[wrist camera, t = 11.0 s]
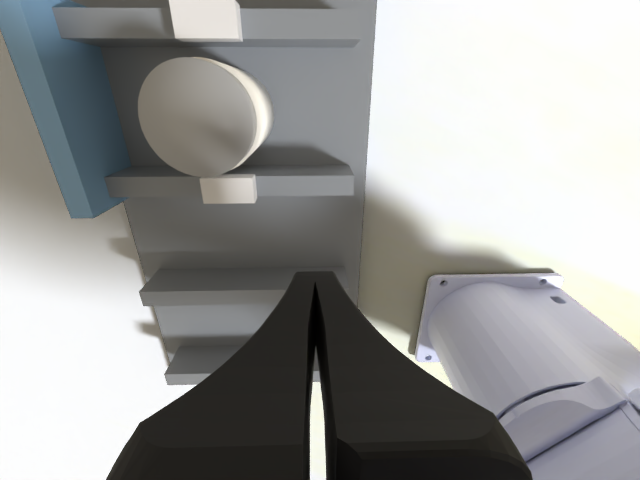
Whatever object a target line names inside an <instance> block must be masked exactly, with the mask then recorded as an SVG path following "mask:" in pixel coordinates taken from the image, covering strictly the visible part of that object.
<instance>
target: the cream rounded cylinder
mask: <svg viewBox="0 0 640 480" xmlns="http://www.w3.org/2000/svg"><path fill="white" fill-rule="evenodd" d="M138 116H139V121H140V125H141V128H142V131H143V133H144V136H145V138H146V140H147V141H148V143H149V145H150V146H151V148H152V149H153V150H154V152H155V153H156V154H157V155H158V156H159V157H160V158H161V159H162V160H163V161H164V162H166V163H167V164H168V165H170V166H171V167H173V168H174V169H176V170H178V171H180V172H183V173H185V174H188V175H192V176H197V177H212V176H217V175H220V174H223V173H226V172H227V171H229V170H232V169H234V168H236V167H238V166H239V165H241V164H242V163H243V162H244V161H245V160H246V159H247V158H248V157H249V156H250V155H251V154H252V153H253V152H254V151H255V150H256V149H257V148H258V147H259V146H260V145H261V144H262V143H263V142H264V141H265V140H266V139H267V137H268V136H269V134H270V132H271V129H272V127H273V122H274V108H273V103H272V100H271V97H270V95H269V93H268V91H267V89H266V88H265V86H264V85H263V84H262V83H261V82H260V81H259V80H258V79H257V78H256V77H255V76H253V75H252V74H250V73H248V72H246V71H243V70H241V69H238V68H235V67H232V66H229V65H226V64H223V63H220V62H218V61H215V60H212V59H208V58H203V57H181V58H174V59H170V60H168V61H165V62H163V63H161V64H160V65H158V66H157V67H155V68H154V69H153V70H152V71H151V72H150V73H149V75H148V76H147V77H146V79H145V81H144V83H143V84H142V87H141V90H140V93H139V98H138Z"/></svg>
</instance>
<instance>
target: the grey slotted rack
mask: <svg viewBox="0 0 640 480" xmlns="http://www.w3.org/2000/svg"><path fill="white" fill-rule="evenodd" d="M376 8H377V0H0V29H1V32H2V35H3V37H4V40H5V43H6V45H7V48H8V51H9V53H10V56H11V59H12V61H13V64H14V67H15V69H16V72H17V75H18V77H19V80H20V83H21V85H22V88H23V91H24V93H25V96H26V99H27V101H28V104H29V107H30V109H31V112H32V115H33V117H34V120H35V123H36V126H37V128H38V131H39V134H40V136H41V139H42V142H43V144H44V147H45V150H46V152H47V155H48V158H49V160H50V163H51V166H52V168H53V171H54V174H55V176H56V179H57V182H58V184H59V187H60V190H61V192H62V195H63V198H64V200H65V203H66V206H67V208H68V211H69V214H70V216H71V218H95V217H96V216H98V215H100V214H102V213H103V212H105V211H107V210H109V209H110V208H112V207H114V206H116V205H117V204H119V203H121V202H124V206H125V209H126V213H127V216H128V220H129V223H130V226H131V230H132V233H133V237H134V240H135V244H136V247H137V251H138V254H139V258H140V261H141V264H142V268H143V271H144V275H145V278H146V282H147V283H146V284H145V286H144V287H143V288H142V289H141V290H140V291H139V293H140V297H141V300H142V303H143V306H154V309H155V313H156V316H157V320H158V323H159V327H160V330H161V334H162V337H163V340H164V344H165V347H166V351H167V354H168V358H169V361H170V365H169V367H168V369H167V370H166V372H165V374H164V375H165V378H166V381H167V385H193V384H199V383H200V382H202V381H203V380H204V379H205V378H207V377H208V376H209V375H210V374H212V373H213V372H214V371H216V370H217V369H218V368H219V367H220V366H222V365H223V364H224V363H225V362H226V361H227V360H228V359H229V358H231V357H232V356H233V355H234V354H235V353H236V352H237V351H238V350H239V349H240V348H241V347H242V346H243V345H244V344H245V343H246V342H247V341H248V340H249V339H250V338H251V337H252V336H253V335H254V333H255V332H256V331H257V330H258V329H259V328H260V327H261V325H262V324H263V323H264V322H265V320H266V319H267V318H268V316H269V315H270V314H271V312H272V311H273V310H274V309H275V307H276V306H277V304H278V303H279V301H280V300H281V298H282V297H283V295H284V293H285V292H286V290H287V288H288V287H289V285H290V283H291V281H292V279H293V276H294V274H295V273H296V272H304V271H333V272H334V273H335V274H336V276H337V278H338V280H339V282H340V283H341V285H342V287H343V288H344V290H345V291H346V293H347V294H348V296H349V297H350V299H351V300H352V301H353V303H354V304H355V305H356V307H357V304H358V288H359V273H360V257H361V242H362V226H363V210H364V195H365V179H366V164H367V148H368V133H369V117H370V101H371V86H372V70H373V55H374V39H375V24H376ZM181 57H203V58H208V59H212V60H215V61H218V62H220V63H223V64H226V65H229V66H232V67H235V68H238V69H241V70H243V71H246V72H248V73H250V74H252V75H253V76H255V77H256V78H257V79H258V80H259V81H260V82H261V83H262V84H263V85H264V86H265V88H266V89H267V91H268V93H269V95H270V97H271V100H272V103H273V108H274V122H273V127H272V129H271V132H270V134H269V136H268V137H267V139H266V140H265V141H264V142H263V143H262V144H261V145H260V146H259V147H258V148H257V149H256V150H255V151H254V152H253V153H252V154H251V155H250V156H249V157H248V158H247V159H246V160H245V161H244V162H243V163H242V164H241V165H239V166H238V167H236V168H234V169H232V170H229V171H227V172H226V173H223V174H220V175H217V176H212V177H197V176H192V175H188V174H185V173H183V172H180V171H178V170H176V169H174V168H173V167H171V166H170V165H168V164H167V163H166V162H164V161H163V160H162V159H161V158H160V157H159V156H158V155H157V154H156V153H155V152H154V150H153V149H152V148H151V146H150V145H149V143H148V141H147V140H146V138H145V136H144V133H143V131H142V128H141V125H140V121H139V116H138V98H139V93H140V90H141V87H142V84H143V83H144V81H145V79H146V77H147V76H148V75H149V73H150V72H151V71H152V70H153V69H154V68H155V67H157V66H158V65H160V64H161V63H163V62H165V61H168V60H170V59H174V58H181ZM313 382H320V375H319V367H318V359H317V351H316V348H315V359H314V371H313Z"/></svg>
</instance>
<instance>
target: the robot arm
mask: <svg viewBox="0 0 640 480" xmlns="http://www.w3.org/2000/svg"><path fill="white" fill-rule="evenodd" d="M444 280H445V282H444V283H442V284H440V283H441V281H444ZM540 280H542V281H540ZM563 281H564V278H563V277H562V276H561V275H560V274H558V273H528V274H460V275H433V276H431V277H430V278H429V279H428V283H427V288H426V294H425V300H424V305H423V311H422V316H421V322H420V328H419V333H418V339H417V344H416V350H415V358H416V360H417V361H418V362H441V364H442V366H443V368H444V371H445V373H446V375H447V377H448V379H449V381H450V383H451V385H452V387H453V389H454V390H453V389H451V388H450V387H448V386H446V385H445V384H443V383H442V382H441V381H439V380H438V379H436V378H435V377H433V376H432V375H430V374H429V373H427V372H426V371H424V370H423V369H422V368H420V367H419V366H418V365H416V364H415V363H414V362H412V361H411V360H410V359H409V358H407V357H406V356H405V355H403V354H402V353H401V352H400V351H398V350H397V349H396V348H395V347H394V346H393V345H392V344H391V343H389V342H388V341H387V340H386V339H385V338H384V337H383V336H382V335H381V334H380V333H379V332H378V331H377V330H376V329H375V328H374V327H373V326H372V324H371V323H370V322H369V321H368V320H367V319H366V318H365V316H364V315H363V314H362V313H361V312H360V310H359V309H358V308H357V307H356V305H355V304H354V303H353V301H352V300H351V299H350V297H349V296H348V294H347V293H346V291H345V290H344V288H343V287H342V285H341V283H340V282H339V280H338V278H337V276H336V274H335V273H334V272H333V271H304V272H296V273H295V274H294V276H293V279H292V281H291V283H290V285H289V287H288V288H287V290H286V292H285V293H284V295H283V297H282V298H281V300H280V301H279V303H278V304H277V306H276V307H275V309H274V310H273V311H272V312H271V314H270V315H269V316H268V318H267V319H266V320H265V322H264V323H263V324H262V325H261V327H260V328H259V329H258V330H257V331H256V332H255V333H254V335H253V336H252V337H251V338H250V339H249V340H248V341H247V342H246V343H245V344H244V345H243V346H242V347H241V348H240V349H239V350H238V351H237V352H236V353H235V354H234V355H233V356H232V357H231V358H229V359H228V360H227V361H226V362H225V363H224V364H223V365H222V366H220V367H219V368H218V369H217V370H216V371H214V372H213V373H212V374H210V375H209V376H208V377H207V378H205V379H204V380H203V381H202V382H200V383H199V384H198V385H196V386H195V387H194V388H192V389H191V390H190V391H188V392H187V393H185V394H184V395H182V396H181V397H179V398H178V399H176V400H175V401H173V402H172V403H170V404H169V405H167V406H166V407H164V408H163V409H161V410H159V411H158V412H156V413H155V414H153V415H152V416H150V417H149V418H147V419H145V420H144V421H142V422H140V423H139V425H138V427H137V428H136V430H135V432H134V433H133V435H132V436H131V438H130V439H129V441H128V442H127V443H126V445H125V446H124V448H123V450H122V452H121V453H120V455H119V457H118V458H117V460H116V462H115V464H114V466H113V467H112V469H111V471H110V473H109V475H108V477H107V479H106V480H310V405H311V394H312V382H313V371H314V359H315V348H316V351H317V359H318V367H319V375H320V383H321V392H322V400H323V409H324V422H325V451H326V480H640V352H639V351H638V350H637V349H636V348H635V347H634V346H633V345H632V344H631V343H629V342H628V341H627V340H626V339H624V338H623V337H622V336H620V335H619V334H618V333H617V332H615V331H614V330H613V329H612V328H610V327H609V326H608V325H606V324H605V323H604V322H603V321H601V320H600V319H599V318H597V317H596V316H595V315H594V314H592V313H591V312H590V311H588V310H587V309H586V308H585V307H583V306H582V305H581V304H579V303H578V302H577V301H576V300H574V299H573V298H572V297H571V296H569V295H568V294H567V293H565V292H564V291H563V290H562V289H561V286H562V284H563ZM428 355H429V356H428Z"/></svg>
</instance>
